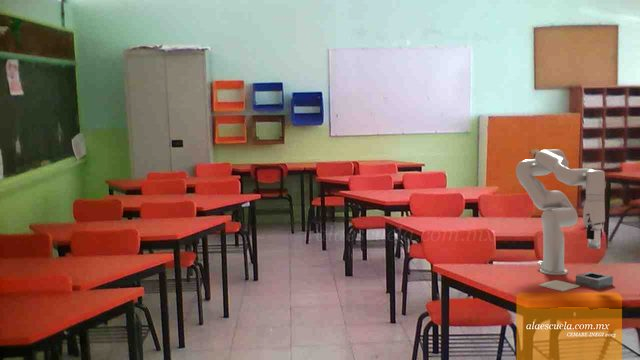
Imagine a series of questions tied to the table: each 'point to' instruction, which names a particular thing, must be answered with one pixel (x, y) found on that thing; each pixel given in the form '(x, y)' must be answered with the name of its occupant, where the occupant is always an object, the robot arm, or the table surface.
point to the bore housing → (594, 280)
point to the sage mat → (559, 285)
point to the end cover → (595, 237)
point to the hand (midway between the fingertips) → (594, 237)
